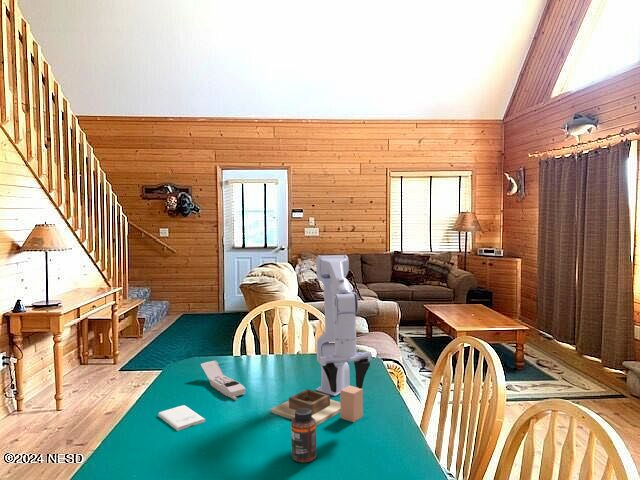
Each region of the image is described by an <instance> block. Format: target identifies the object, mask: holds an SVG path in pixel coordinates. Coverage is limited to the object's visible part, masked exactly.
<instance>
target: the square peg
mask: <svg viewBox="0 0 640 480" xmlns="http://www.w3.org/2000/svg"><path fill="white" fill-rule="evenodd" d="M339 395H340V402H341V412H340V419H342V420H346V421H349V422H353V423H356V422H357V421H358V420H360V419H361V418H363V416H364V408H363V407H364V406H363V405H364V401H363V399H364V396H363V395H364V389H363V388H362V389H359V388H358V387H356V386H353V385H350V386H348V387H346V388H344V389H342V390H340V394H339Z"/></svg>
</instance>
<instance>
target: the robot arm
mask: <svg viewBox="0 0 640 480" xmlns="http://www.w3.org/2000/svg"><path fill="white" fill-rule="evenodd" d="M315 260H316V261H315V262H316V264H315V267H316V269H315V270H316V278H317V281H319V282H322V285H323V290H324V291H323V295H324V296H323V298H324V299H323V302H324V332H323V333H322V334H321V335H320V336H319V337H318V338H317V339H316V361H317V362H318V363H319V365H320V370H321V371H320V372H321V377H320V378H321V379H320V380H321V382H320V383H321V386H319V387H317V388H315V391H316V392H319V393H323V394H326V395H330V396H333V397H336V396H337V395H340V390H342V389H344V388H346V387H348V386H351V385H350V365H349V364H348V363H352V362H353V365H354V369H355V385H356V386H355V387H357V388H359V389H363V385H364V380H365V377H366V374H367V372H368V370H369V368H370V366H371V362H370V361H372V352H370V351H357V316H356V315H358V313H359V299H358V294H357V293H356V292H354V291H353V290H352V286H351V283H350V281H349V280H348V279H347V276H348V273H349V270H350V269H349V268H350V267H349V266H350V263H349V257H348V255H347V254H342V255H341V254H339V255H338V254H337V255H328V254H327V255H320V254H318V255H317V257H316V259H315Z"/></svg>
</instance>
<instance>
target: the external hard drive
mask: <svg viewBox="0 0 640 480" xmlns="http://www.w3.org/2000/svg"><path fill="white" fill-rule="evenodd" d="M157 414H158V418H159V419H162V420H163V421H164V422H165V423H167V425H169V426H171V427H172V429H174V430H176V432H179V431H181V430H184V429H187V428H190V427H192V426H197V425H200V424H202V423H206V418H204V417H203V416H201V415H200V414H198V413H197V412H195V411H194V410H192V409H191V408H190V407H188V406H186V405H185V404H183V405H180V406H179V405H178V406H175V407H173V408H169V409H166V410H165V409H164V410H162V411H159V412H158V413H157Z"/></svg>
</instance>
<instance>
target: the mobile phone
mask: <svg viewBox="0 0 640 480" xmlns="http://www.w3.org/2000/svg"><path fill="white" fill-rule="evenodd" d="M219 365H220V364H219V362H218V361H217V360H211V361H210V360H209V361H206V362H203V363H200V367H201V368H202V369H203V371H204V373H205V375H206V378H207V379H208V380H209V384H210V386H211V387H212V388H214V389H216V391H218V392H219V391H220V392H219V393H221V394H222V395H225V396H226V397H227V396H228V398H231V399H232V400H233V401H237V400H238V396H239V397H240V396H242V395H245V394H246V387H245V386H244V385H243V384H241V383H240V382H239V381H237V380H234V379H233V378H230V377H228V376H226V375H224V373H223V371H222V370H221V368H220V366H219Z"/></svg>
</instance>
